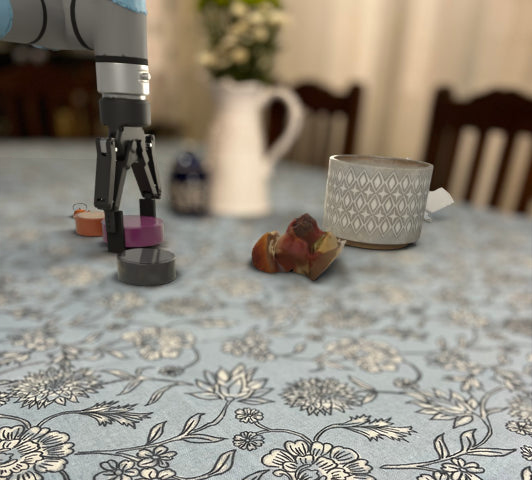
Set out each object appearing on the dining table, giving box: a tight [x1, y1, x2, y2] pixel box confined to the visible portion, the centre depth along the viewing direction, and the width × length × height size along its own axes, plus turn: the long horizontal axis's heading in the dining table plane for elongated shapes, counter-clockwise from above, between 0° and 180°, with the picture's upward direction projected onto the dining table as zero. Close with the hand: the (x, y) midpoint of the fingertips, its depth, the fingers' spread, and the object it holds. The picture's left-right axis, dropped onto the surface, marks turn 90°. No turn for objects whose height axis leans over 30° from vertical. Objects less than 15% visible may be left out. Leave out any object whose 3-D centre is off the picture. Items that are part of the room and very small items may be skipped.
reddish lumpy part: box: [251, 212, 346, 281], centre depth 82 cm, size 16×13×10 cm
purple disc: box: [101, 214, 165, 248], centre depth 86 cm, size 10×10×3 cm
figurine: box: [405, 157, 455, 223], centre depth 120 cm, size 15×12×14 cm
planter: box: [322, 154, 434, 250], centre depth 97 cm, size 19×19×14 cm
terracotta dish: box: [73, 211, 105, 237], centre depth 92 cm, size 6×6×3 cm
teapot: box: [72, 202, 91, 219], centre depth 102 cm, size 3×3×3 cm
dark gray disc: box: [115, 247, 177, 287], centre depth 72 cm, size 8×8×3 cm
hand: (133, 244), depth 87 cm, fingers closed on purple disc, 10 cm apart
